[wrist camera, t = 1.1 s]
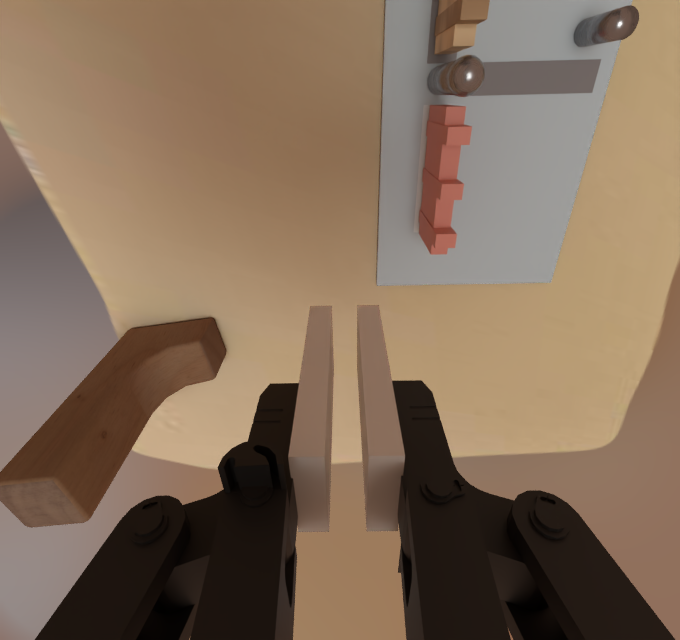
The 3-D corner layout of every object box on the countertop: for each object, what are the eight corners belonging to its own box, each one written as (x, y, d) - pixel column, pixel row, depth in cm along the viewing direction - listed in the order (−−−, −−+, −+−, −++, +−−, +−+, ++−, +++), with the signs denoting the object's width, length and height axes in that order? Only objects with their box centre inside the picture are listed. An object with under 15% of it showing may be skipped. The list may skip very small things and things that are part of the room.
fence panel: (428, 104, 27) (450, 107, 22) (448, 104, 27) (474, 107, 22) (417, 233, 32) (433, 261, 27) (434, 233, 32) (453, 261, 27)
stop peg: (577, 18, 25) (615, 5, 22) (601, 17, 25) (643, 4, 22) (570, 47, 26) (605, 40, 22) (594, 47, 26) (632, 39, 22)
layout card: (390, -172, 21) (391, -178, 21) (681, -183, 21) (687, -188, 21) (376, 283, 35) (376, 286, 35) (548, 280, 35) (551, 282, 35)
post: (426, 63, 26) (455, 53, 20) (455, 63, 26) (493, 52, 20) (424, 97, 27) (450, 97, 21) (452, 96, 27) (486, 96, 21)
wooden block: (214, 316, 37) (124, 473, 22) (228, 352, 40) (155, 518, 24) (128, 327, 38) (-19, 487, 23) (146, 363, 40) (25, 530, 25)
